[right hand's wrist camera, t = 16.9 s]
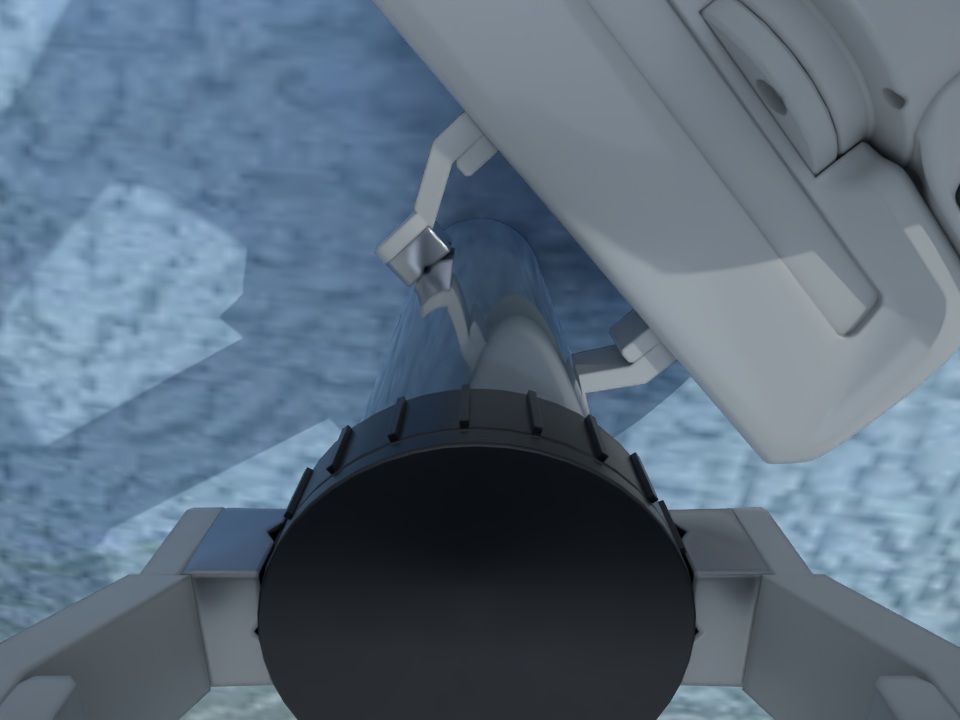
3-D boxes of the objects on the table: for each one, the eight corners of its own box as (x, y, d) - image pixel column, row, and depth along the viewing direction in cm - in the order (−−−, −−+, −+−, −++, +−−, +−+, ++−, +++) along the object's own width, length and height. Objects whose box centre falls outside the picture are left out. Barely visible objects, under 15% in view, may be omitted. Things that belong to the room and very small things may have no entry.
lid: (208, 498, 10) (157, 571, 8) (557, 308, 9) (572, 352, 7) (415, 749, 11) (406, 848, 10) (727, 614, 10) (769, 701, 9)
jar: (533, 210, 25) (641, 428, 8) (544, 327, 27) (655, 713, 10) (411, 226, 25) (270, 469, 8) (429, 341, 27) (342, 741, 10)
